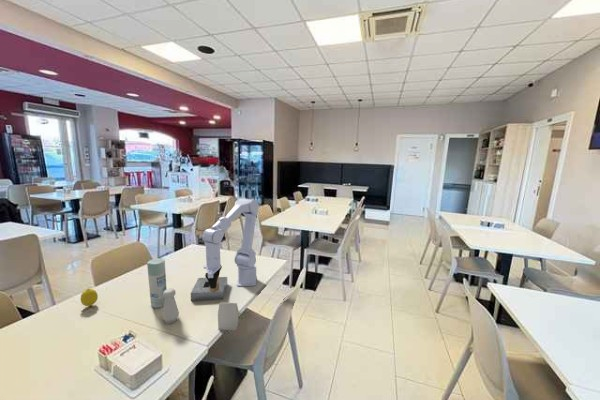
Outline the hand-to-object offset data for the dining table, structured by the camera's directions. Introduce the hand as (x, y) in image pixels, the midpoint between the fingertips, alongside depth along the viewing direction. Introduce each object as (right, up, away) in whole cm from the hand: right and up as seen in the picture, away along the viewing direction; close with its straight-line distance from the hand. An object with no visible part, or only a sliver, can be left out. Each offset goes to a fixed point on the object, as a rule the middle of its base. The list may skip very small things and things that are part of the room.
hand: (214, 285), depth 110 cm
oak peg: (0, -2, 0) cm, 2 cm away
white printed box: (+10, -12, -13) cm, 20 cm away
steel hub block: (-6, -7, +11) cm, 14 cm away
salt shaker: (-14, -11, -10) cm, 20 cm away
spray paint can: (-24, -8, 0) cm, 26 cm away
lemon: (-52, -8, -3) cm, 53 cm away
